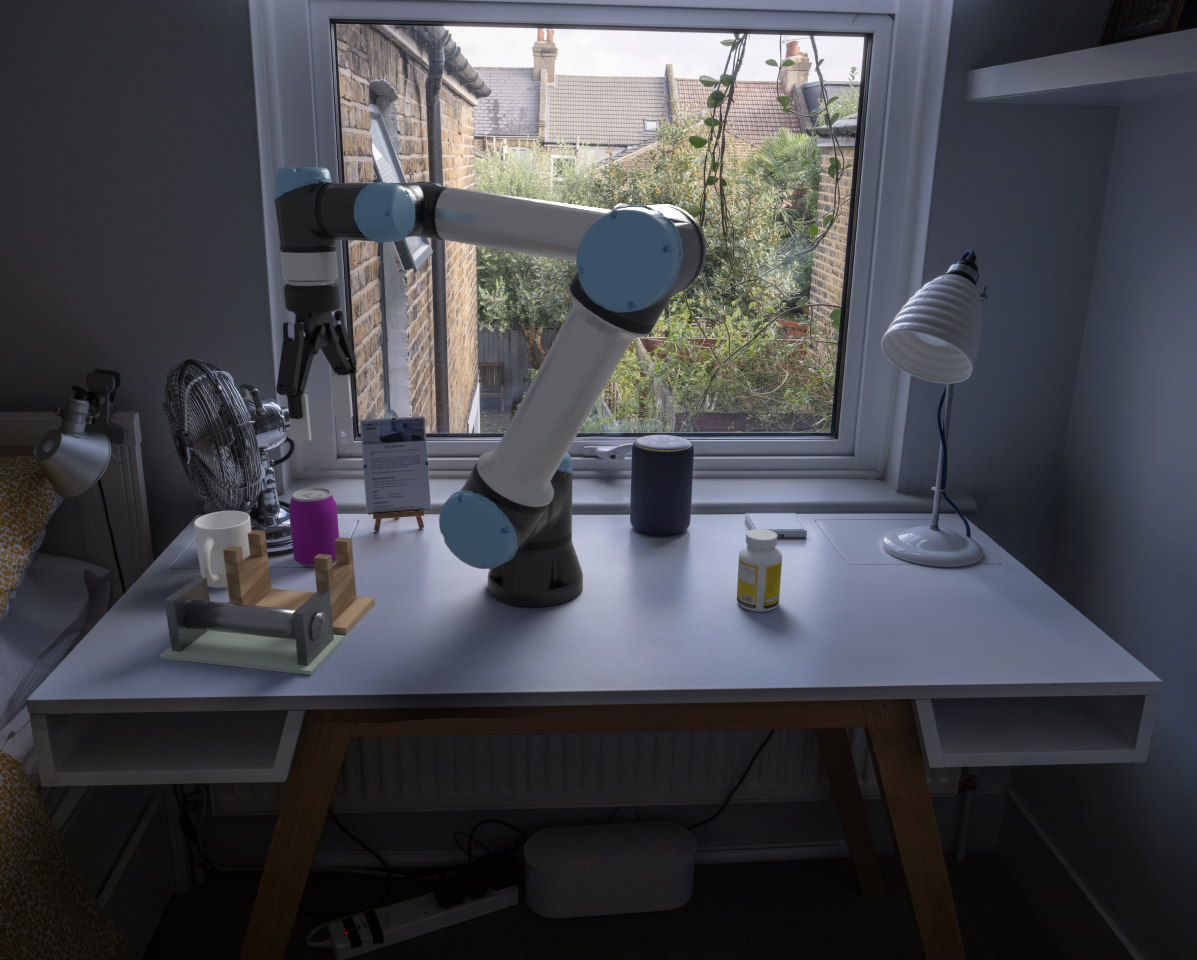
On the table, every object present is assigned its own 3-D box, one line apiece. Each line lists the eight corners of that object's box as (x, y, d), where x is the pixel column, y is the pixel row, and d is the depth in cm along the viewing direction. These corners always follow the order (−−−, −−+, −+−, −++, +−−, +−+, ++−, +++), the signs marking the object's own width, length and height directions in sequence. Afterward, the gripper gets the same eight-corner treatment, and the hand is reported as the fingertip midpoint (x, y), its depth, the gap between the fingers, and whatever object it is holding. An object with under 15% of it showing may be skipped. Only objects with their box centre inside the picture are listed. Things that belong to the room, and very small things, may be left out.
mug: (232, 601, 142) (225, 538, 139) (180, 599, 143) (171, 537, 140) (265, 569, 154) (258, 511, 150) (216, 567, 154) (208, 509, 151)
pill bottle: (783, 600, 144) (788, 530, 141) (772, 617, 139) (777, 545, 135) (742, 592, 147) (747, 523, 143) (730, 608, 141) (734, 537, 138)
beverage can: (284, 564, 156) (277, 497, 152) (314, 548, 162) (308, 483, 159) (321, 572, 153) (315, 503, 149) (350, 555, 160) (344, 489, 156)
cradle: (375, 604, 142) (370, 537, 138) (346, 634, 132) (340, 563, 129) (249, 591, 145) (241, 526, 142) (212, 620, 136) (203, 551, 133)
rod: (337, 639, 130) (332, 589, 127) (311, 666, 123) (306, 614, 120) (201, 625, 133) (194, 576, 131) (168, 650, 126) (160, 599, 124)
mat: (344, 639, 131) (344, 635, 131) (311, 675, 122) (311, 671, 121) (203, 624, 135) (203, 621, 135) (160, 658, 125) (159, 654, 125)
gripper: (326, 272, 143) (337, 406, 150) (238, 291, 120) (255, 449, 126) (372, 273, 142) (381, 409, 148) (292, 293, 118) (307, 452, 125)
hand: (323, 427), depth 137 cm, fingers open, 13 cm apart
